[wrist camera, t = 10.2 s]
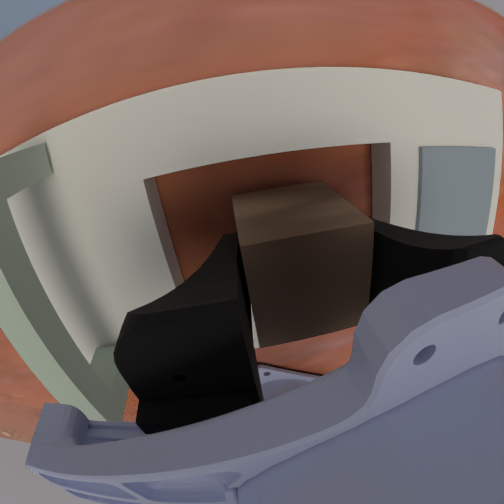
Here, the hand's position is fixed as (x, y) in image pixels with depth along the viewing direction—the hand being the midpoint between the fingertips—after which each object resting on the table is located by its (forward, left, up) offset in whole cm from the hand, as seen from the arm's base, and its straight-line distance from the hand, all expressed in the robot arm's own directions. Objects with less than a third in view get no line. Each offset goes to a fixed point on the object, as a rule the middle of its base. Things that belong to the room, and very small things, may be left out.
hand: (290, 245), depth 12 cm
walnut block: (0, 0, -2) cm, 2 cm away
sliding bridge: (+9, +6, -1) cm, 11 cm away
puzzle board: (0, 0, -3) cm, 3 cm away
